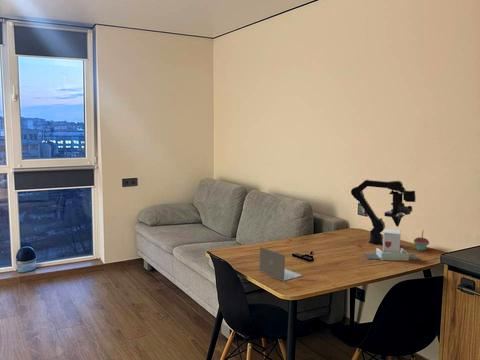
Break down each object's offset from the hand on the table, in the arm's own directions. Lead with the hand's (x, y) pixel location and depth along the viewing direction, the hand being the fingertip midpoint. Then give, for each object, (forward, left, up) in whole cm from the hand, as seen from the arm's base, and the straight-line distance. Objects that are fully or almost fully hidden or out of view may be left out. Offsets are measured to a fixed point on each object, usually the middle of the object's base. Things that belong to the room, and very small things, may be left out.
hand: (397, 226), depth 269 cm
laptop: (-5, -95, -13) cm, 96 cm away
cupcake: (+14, +5, -12) cm, 19 cm away
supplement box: (+12, -25, -13) cm, 30 cm away
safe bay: (+12, -25, -12) cm, 31 cm away
